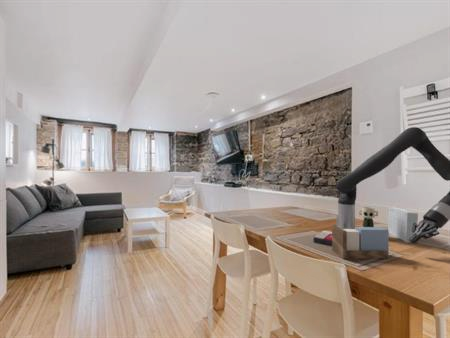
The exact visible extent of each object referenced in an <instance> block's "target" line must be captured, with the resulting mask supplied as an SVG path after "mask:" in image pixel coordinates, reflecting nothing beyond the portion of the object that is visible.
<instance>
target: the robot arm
mask: <svg viewBox="0 0 450 338" xmlns="http://www.w3.org/2000/svg"><path fill="white" fill-rule="evenodd" d="M409 148H413V149H414V150H415V151H417V152H418V153H420V154H421V155H422V156H423V158H424V159H425V160H426V161H427V162H428V164H429V165H430V167H431V168H432V169H433V170H434V171H435V172H436V173H437V174H438V175H439V176H440V177H441V178H442V179H443V180H444V181H447V182H448V181H450V159H449V158H448V157H447V156H446V155H444V154H443V153H442V152H441V151H440V150H439V149H437V147H436V145H434V144H433V142H432V141H431V140H430V139H429V137H428V135H427V134H426V132H425V131H424V130H423V129H421V128H419V127H416V126H413V127H411V126H410V127H408V128H406V129H404V130H403V131H402V132H401V133H400V134H399V135H398V136H397V137H395V138H394V139H393V141H391V142H390V143H388V144H387V145H385V146H384V147H382V148H381V149H380V150H378V151H377V152H375V153H374V154H373V155H371V156H370V157H369V158H367V159H366V160H365V161H363V162H362V163H361V164H360V165H358V166H357V167H356V168H355V169H354V170H353V171H351V172H349V173H348V174H346V175H345V176H343V177H341V178H340V179H337V181H336V184H335V189H336V190H337V191H338V192H339V193H340V196H339V197H338V199H337V200H338V201H337V203H338V205H337V210H338V211H337V213H338V215H336V226H338V227H340V228H342V229H355V230H356V200H357V190H358V189H357V185H358V184H359V183H361V182H363V181H364V180H366V179H369V178H371V177H373V176H375V175H376V174H378V173H381V172H382V171H383V170H384V169H386V168H387V167H389V166H390V165H391V164H392V163H393V162H394V160H395V159H397V157H398V156H399V155H401V154H402V153H403V152H405V151H406V150H408V149H409ZM449 221H450V190H449V191H448V192H447V194H446V195H444V196H443V197H441V199H440V200H439V201H438V202H437V203H436V204H434V205H432V207H431V208H430V209H429V210H428V211H427V212H425V214H424V215H423V216H422V220H421V221H418V222H417V224H416V223H413V225H412V232H413V233H414V234H413V235H412V236H411V238H409V241H410V242H411V243H410V244H413V245H415V244H417V242H419V241H420V240H421V239H425V240H427V239H430V238H433V237H435V236H438V235H440V232H439V229H442V228H443V227H444V226H445V225H446V224H447V223H448V222H449Z"/></svg>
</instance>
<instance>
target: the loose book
mask: <svg viewBox="0 0 450 338" xmlns="http://www.w3.org/2000/svg"><path fill="white" fill-rule="evenodd" d="M355 230H357V231H359V251H388V256H389V253H390V252H389V250H390V249H389V245H390V244H389V241H390V239H389V235H390V233H389V230H388V228H384V227H382V226H381V227H380V226H379V227H378V226H374V227H363V226H355Z"/></svg>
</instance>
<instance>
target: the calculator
mask: <svg viewBox="0 0 450 338" xmlns="http://www.w3.org/2000/svg"><path fill="white" fill-rule="evenodd" d="M313 243H314V244H320V245H324V246H328V247H332V231H329V230H323V231H320V232H319V233H318V234H317V235H315V236H314V237H313Z"/></svg>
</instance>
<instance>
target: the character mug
mask: <svg viewBox="0 0 450 338" xmlns="http://www.w3.org/2000/svg"><path fill="white" fill-rule="evenodd" d="M358 215H359V216H362V218H363V221H362V227H375V224H374V220H373V219H374V218H375V217H379V211H377V210H376V209H375V208H374V207H369V206H363V207H361V209H359V210H358Z"/></svg>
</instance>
